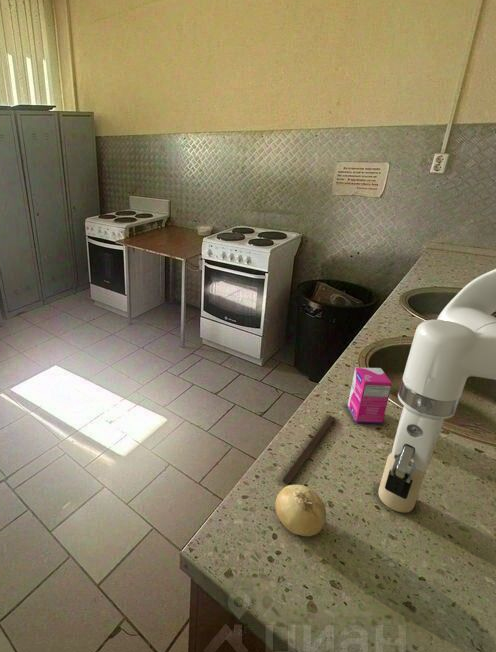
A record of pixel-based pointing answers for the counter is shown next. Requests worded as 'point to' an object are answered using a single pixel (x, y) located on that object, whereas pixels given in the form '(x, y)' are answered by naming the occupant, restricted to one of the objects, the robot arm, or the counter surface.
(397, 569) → the counter surface
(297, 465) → the dark brown thin rod
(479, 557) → the counter surface
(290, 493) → the onion
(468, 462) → the counter surface
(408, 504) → the candle
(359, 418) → the supplement box
